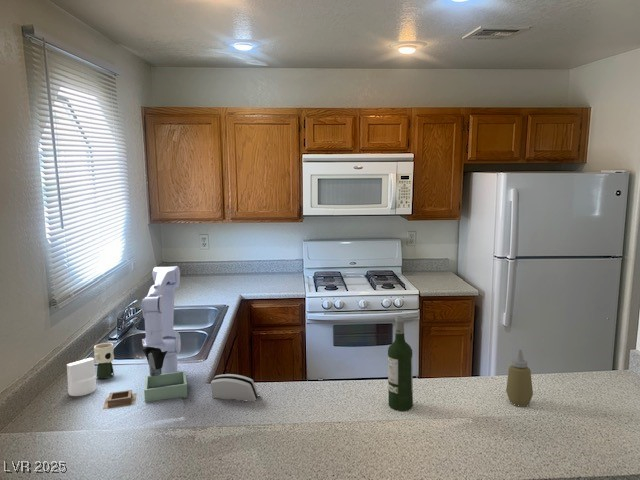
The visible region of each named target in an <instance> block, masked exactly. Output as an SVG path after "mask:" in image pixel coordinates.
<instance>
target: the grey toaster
mask: <svg viewBox="0 0 640 480" xmlns="http://www.w3.org/2000/svg"><path fill="white" fill-rule="evenodd" d="M210 390H211V391H210V392H211V398H212V399H221V400H222V399H223V400H230V399H236V400H235V401H240V400H247V401H246V402H251V401H255V400H256V401H257V398H259V396H258V395H260V392H259V391H258V390H257V387H256V383H255V382H254V379H252V378H250V377H247V376H245V375H240V374H233V373H232V374H231V373H225V374H218V375H215V376H214V377H213V379H212V380H211V382H210ZM260 396H261V395H260ZM256 401H255V402H256Z"/></svg>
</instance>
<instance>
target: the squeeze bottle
mask: <svg viewBox="0 0 640 480" xmlns="http://www.w3.org/2000/svg"><path fill="white" fill-rule="evenodd" d="M532 382H533V380H532V371H531V369H530V367H528V360H526V359H525V358H524V356H523V350H522V349H517V352H516V355H515V358H513V359H512V360H511V365H510V366H508V373H507V381H506V389H505V392H506V394H507V397H508V401H509V400H510V401H509V403H510V402H512V403H513V404H515V405H519V406H518V407H520V406H525V407H528V406H530V403H531V401H532V398H533V396H534V393H533V392H534V391H533V383H532ZM513 404H512V405H513ZM515 405H514V406H515ZM527 405H528V406H527Z"/></svg>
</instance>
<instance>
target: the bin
mask: <svg viewBox="0 0 640 480" xmlns="http://www.w3.org/2000/svg"><path fill="white" fill-rule="evenodd" d="M143 391H144V402H145V403H146V402H153V401H160V400H165V399H171V398H172V399H173V398H179V397H181V399H182V400H183V399H188V383H187V377H186V371H185V370H183V371H179V372H173V373H166V374H161V375H158V376H150V375H146V376H145V380H144V390H143Z"/></svg>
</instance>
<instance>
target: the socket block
mask: <svg viewBox="0 0 640 480" xmlns="http://www.w3.org/2000/svg"><path fill="white" fill-rule="evenodd" d="M137 395H138V393H137V392H135V393H133V389H127V390H120V391H114V392H109V395H108V397H105V401H104V404H103V407H102V410H108V409H115V408H120V407H121V408H122V407H127V406H134V405H136V401H137Z"/></svg>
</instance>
